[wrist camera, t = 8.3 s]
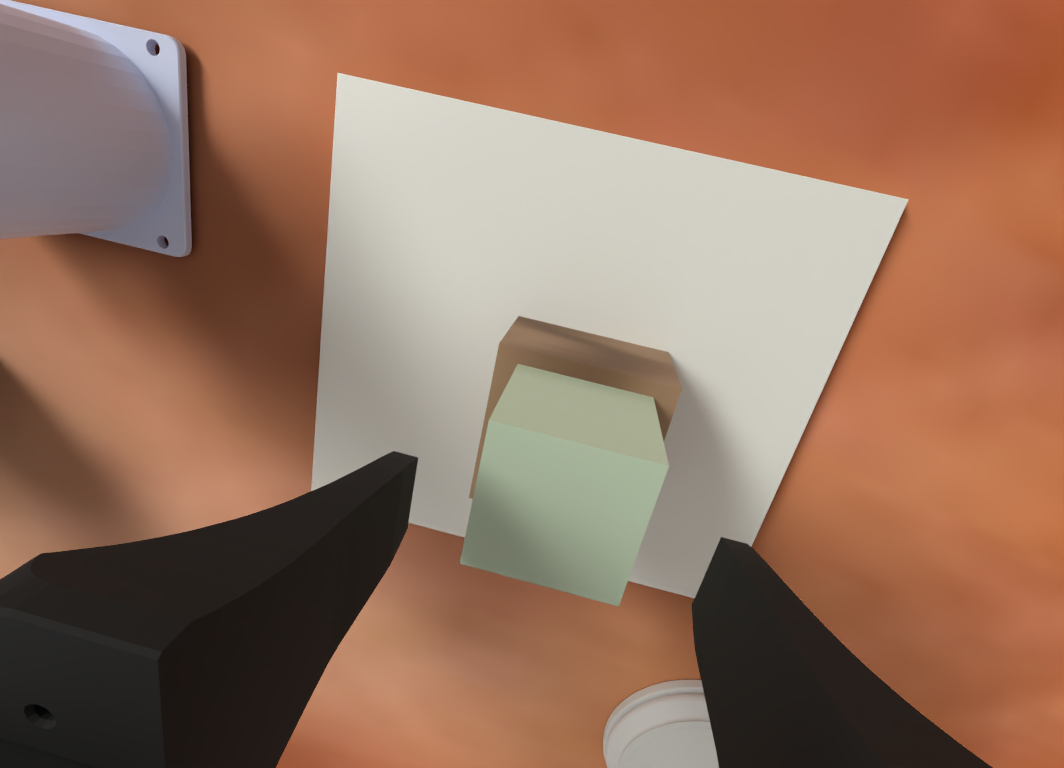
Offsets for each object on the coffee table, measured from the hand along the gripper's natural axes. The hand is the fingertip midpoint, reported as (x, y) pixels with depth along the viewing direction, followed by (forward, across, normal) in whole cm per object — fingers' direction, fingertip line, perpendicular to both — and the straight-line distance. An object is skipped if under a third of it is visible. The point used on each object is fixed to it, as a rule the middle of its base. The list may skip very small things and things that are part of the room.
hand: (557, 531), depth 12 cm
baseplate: (+10, +1, 0) cm, 10 cm away
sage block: (+6, 0, 0) cm, 6 cm away
